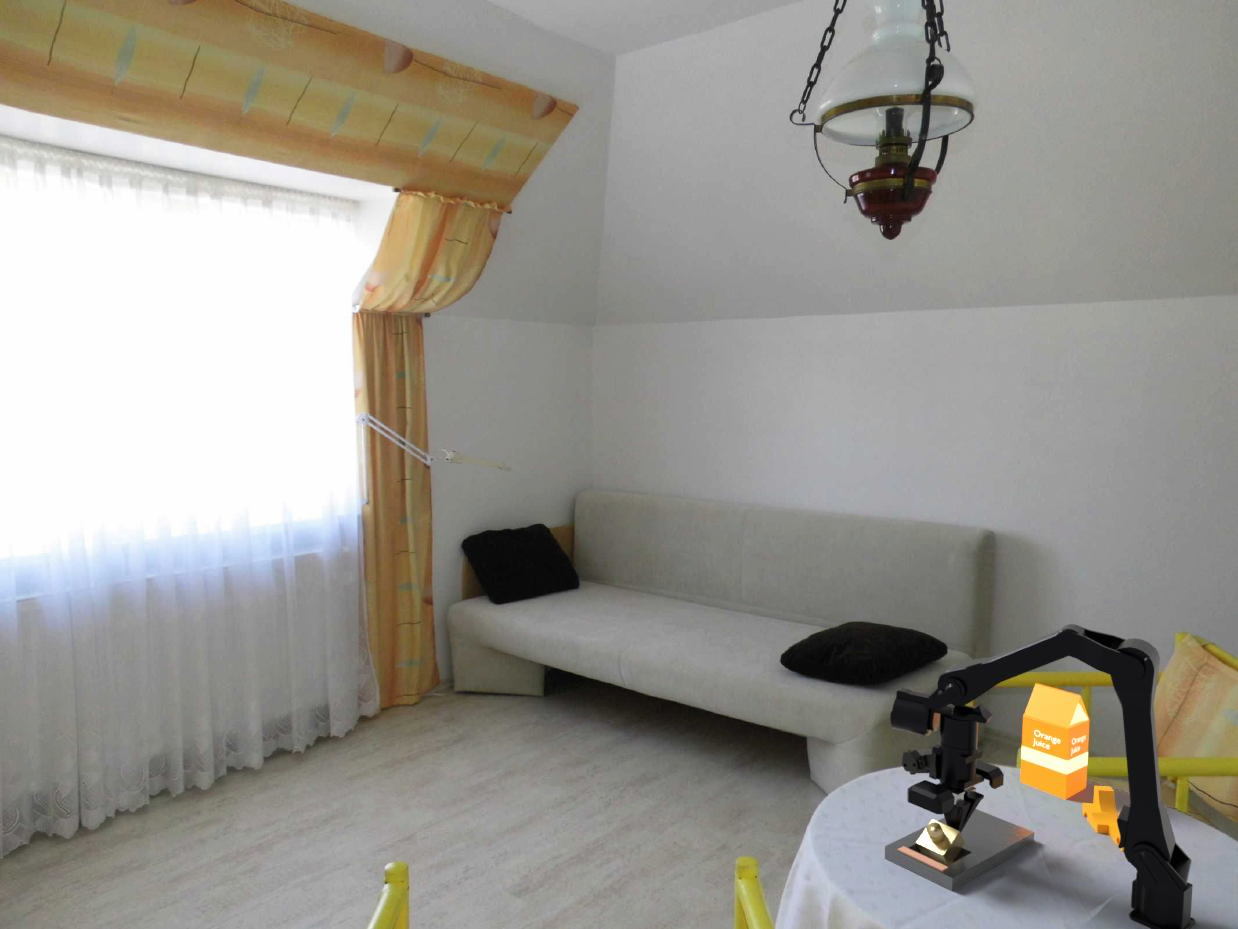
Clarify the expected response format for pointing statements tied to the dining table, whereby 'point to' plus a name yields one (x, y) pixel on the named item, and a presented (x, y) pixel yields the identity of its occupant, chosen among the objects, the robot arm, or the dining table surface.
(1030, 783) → the orange juice
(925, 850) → the gold block with knob
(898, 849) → the dark grey slab
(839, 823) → the dining table surface
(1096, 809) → the pipe clamp
